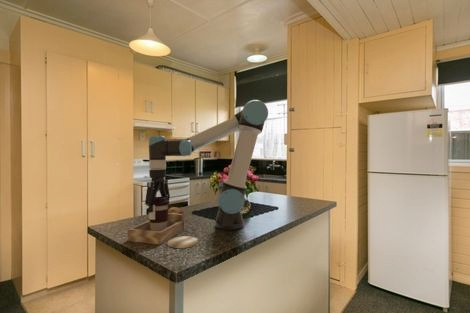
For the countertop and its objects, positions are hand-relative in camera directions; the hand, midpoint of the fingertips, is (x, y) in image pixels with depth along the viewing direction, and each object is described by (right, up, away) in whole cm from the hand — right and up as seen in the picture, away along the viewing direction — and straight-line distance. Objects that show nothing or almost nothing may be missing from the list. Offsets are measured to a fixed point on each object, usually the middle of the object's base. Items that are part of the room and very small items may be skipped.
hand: (158, 216), depth 121 cm
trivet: (+13, -9, -10) cm, 19 cm away
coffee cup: (0, -6, 0) cm, 6 cm away
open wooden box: (0, -9, 0) cm, 9 cm away
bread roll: (0, -9, +34) cm, 35 cm away
